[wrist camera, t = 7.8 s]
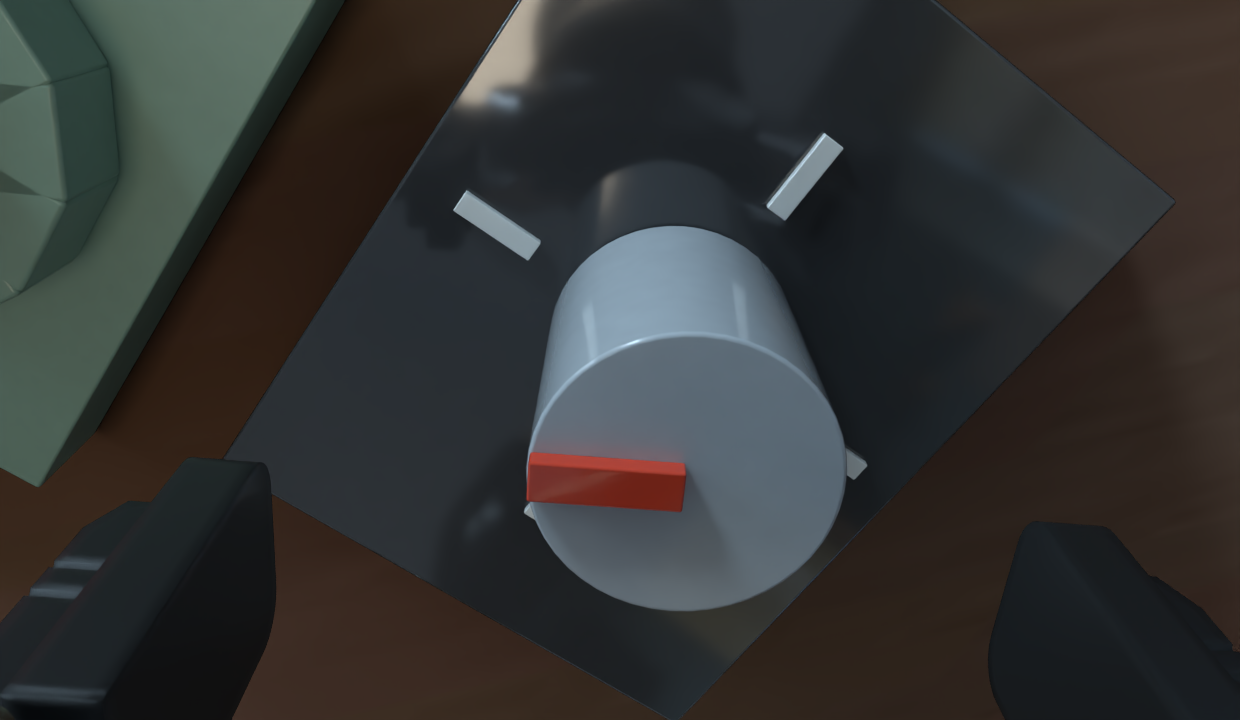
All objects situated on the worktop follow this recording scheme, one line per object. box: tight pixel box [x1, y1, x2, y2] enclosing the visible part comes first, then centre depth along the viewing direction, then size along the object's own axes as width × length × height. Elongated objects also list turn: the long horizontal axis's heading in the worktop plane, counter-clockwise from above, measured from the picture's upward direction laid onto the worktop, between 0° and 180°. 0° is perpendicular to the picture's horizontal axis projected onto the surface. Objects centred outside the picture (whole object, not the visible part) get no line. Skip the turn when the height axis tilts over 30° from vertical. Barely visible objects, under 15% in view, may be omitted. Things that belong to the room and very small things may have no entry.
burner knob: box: [526, 226, 847, 611], centre depth 15 cm, size 4×4×5 cm
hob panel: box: [223, 0, 1176, 720], centre depth 18 cm, size 13×10×3 cm
